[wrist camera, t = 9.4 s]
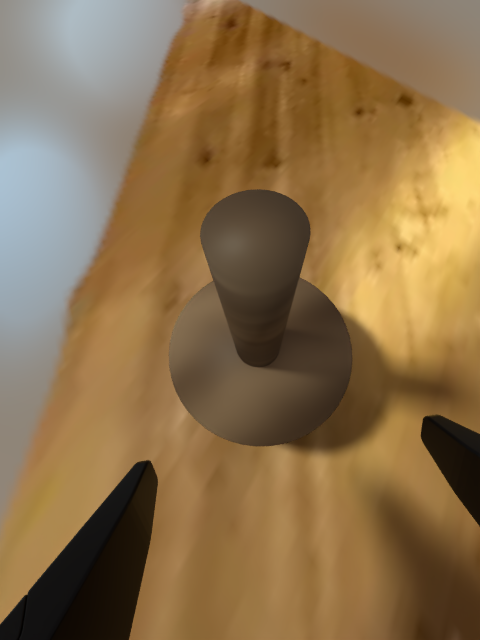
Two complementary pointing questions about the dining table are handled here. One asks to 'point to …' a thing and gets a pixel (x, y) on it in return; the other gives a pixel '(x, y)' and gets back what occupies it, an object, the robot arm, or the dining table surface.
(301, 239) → the brown peg on base
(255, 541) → the dining table surface
